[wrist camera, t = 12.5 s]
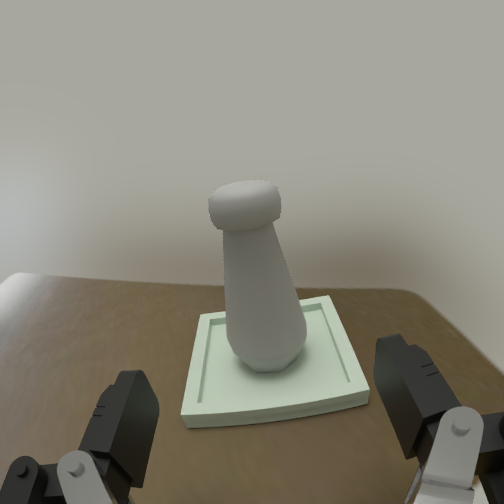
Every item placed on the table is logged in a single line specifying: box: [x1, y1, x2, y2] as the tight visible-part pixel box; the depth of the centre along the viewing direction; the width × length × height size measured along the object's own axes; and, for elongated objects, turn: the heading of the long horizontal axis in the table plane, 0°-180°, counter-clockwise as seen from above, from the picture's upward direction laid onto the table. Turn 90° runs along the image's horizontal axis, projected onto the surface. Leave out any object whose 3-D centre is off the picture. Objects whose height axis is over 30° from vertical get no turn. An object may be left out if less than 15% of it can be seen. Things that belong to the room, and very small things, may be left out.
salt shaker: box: [208, 180, 307, 373], centre depth 21 cm, size 6×6×13 cm
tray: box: [181, 295, 370, 428], centre depth 23 cm, size 12×12×2 cm
